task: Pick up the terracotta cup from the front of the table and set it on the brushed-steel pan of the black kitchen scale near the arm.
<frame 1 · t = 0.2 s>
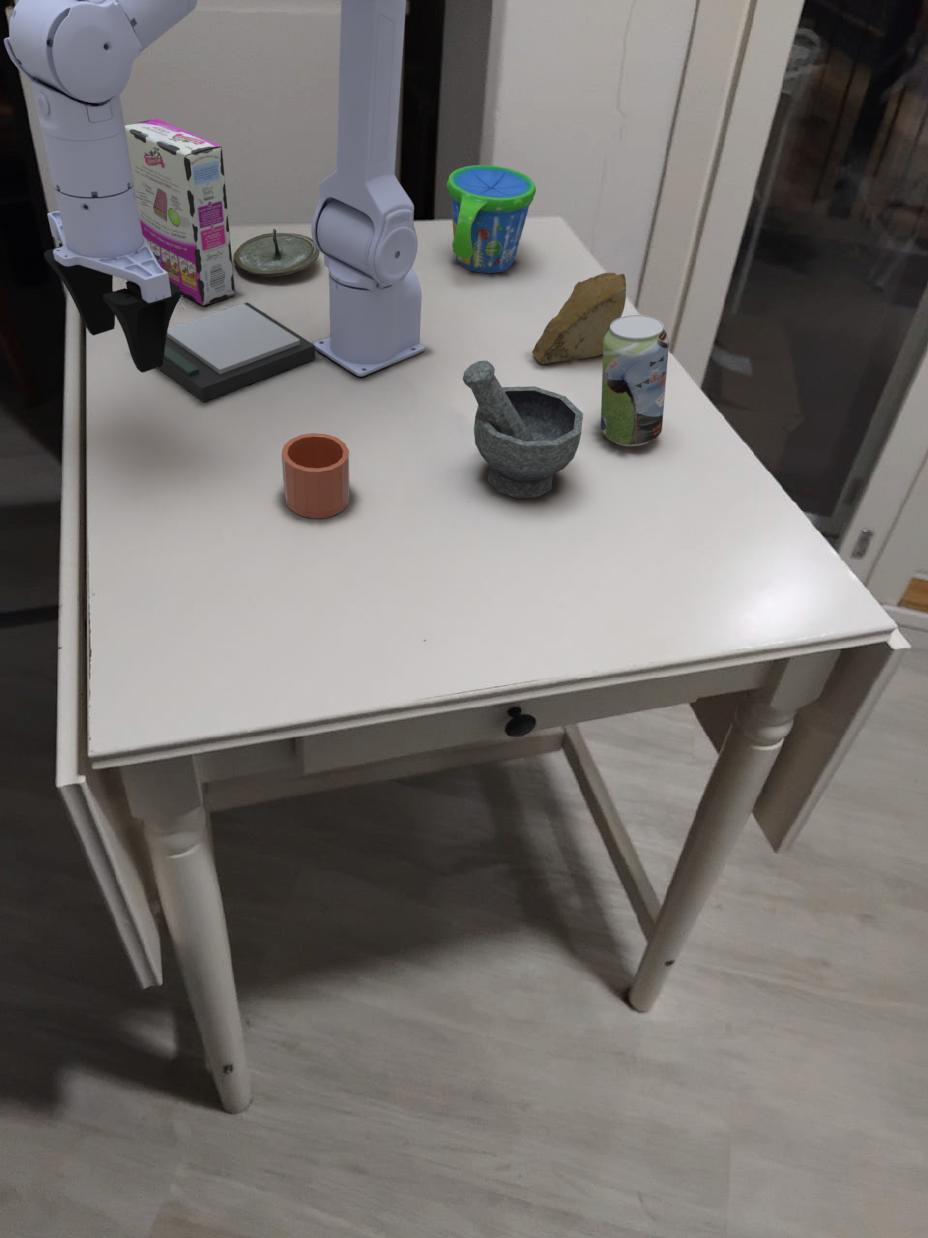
hand: (125, 348, 80), 10 cm above the table, tool pointing down, fingers open, 7 cm apart
scale: (227, 355, 100), on the table
terracotta cup: (317, 498, 84), on the table
rock: (573, 353, 106), on the table
candy bar box: (190, 285, 111), on the table
snack cup: (483, 264, 121), on the table
lid: (277, 268, 116), on the table
mortar and pestle: (513, 480, 88), on the table
beverage can: (621, 436, 95), on the table
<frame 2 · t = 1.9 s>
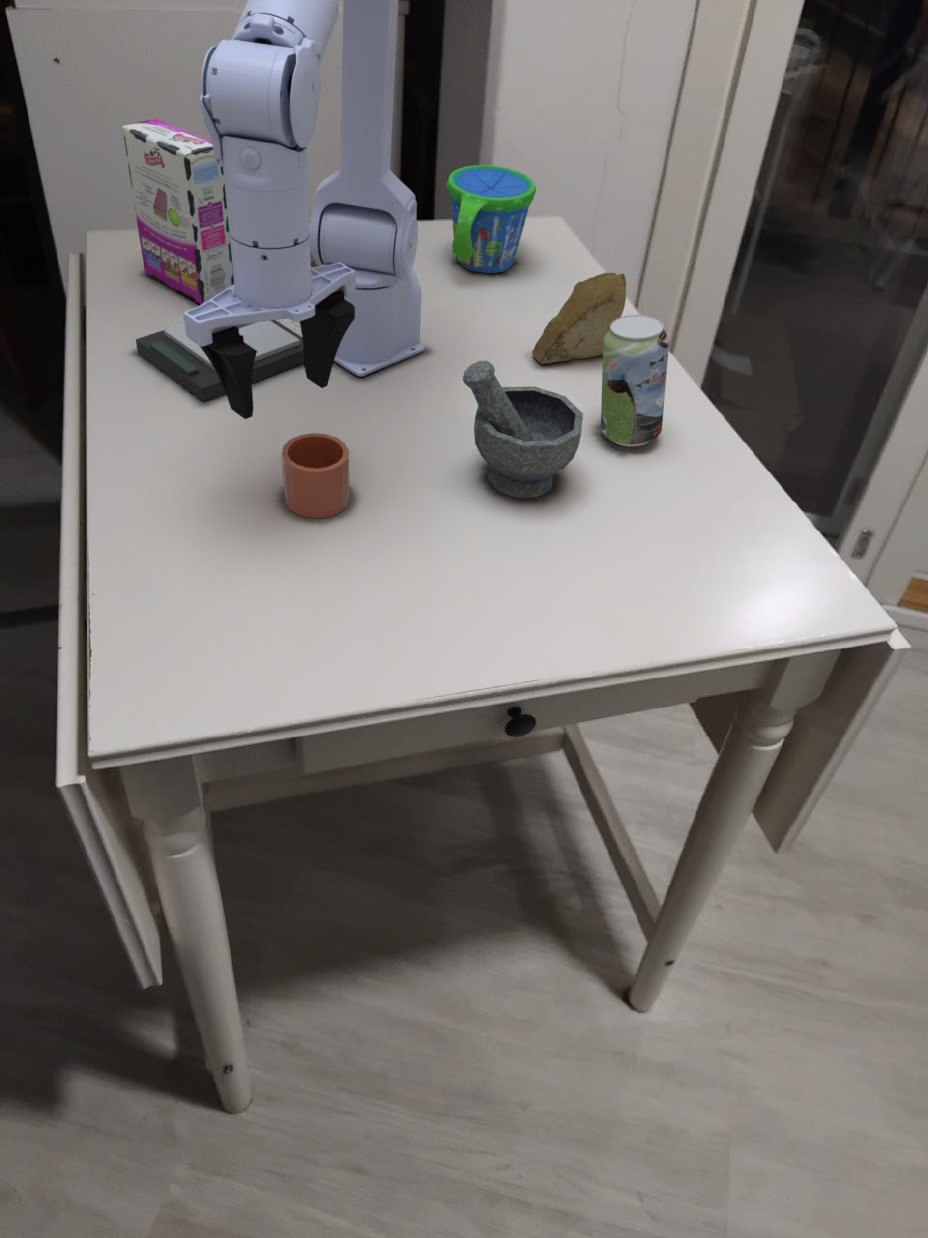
hand: (280, 396, 78), 9 cm above the table, tool pointing down, fingers open, 7 cm apart
nothing on the table moved.
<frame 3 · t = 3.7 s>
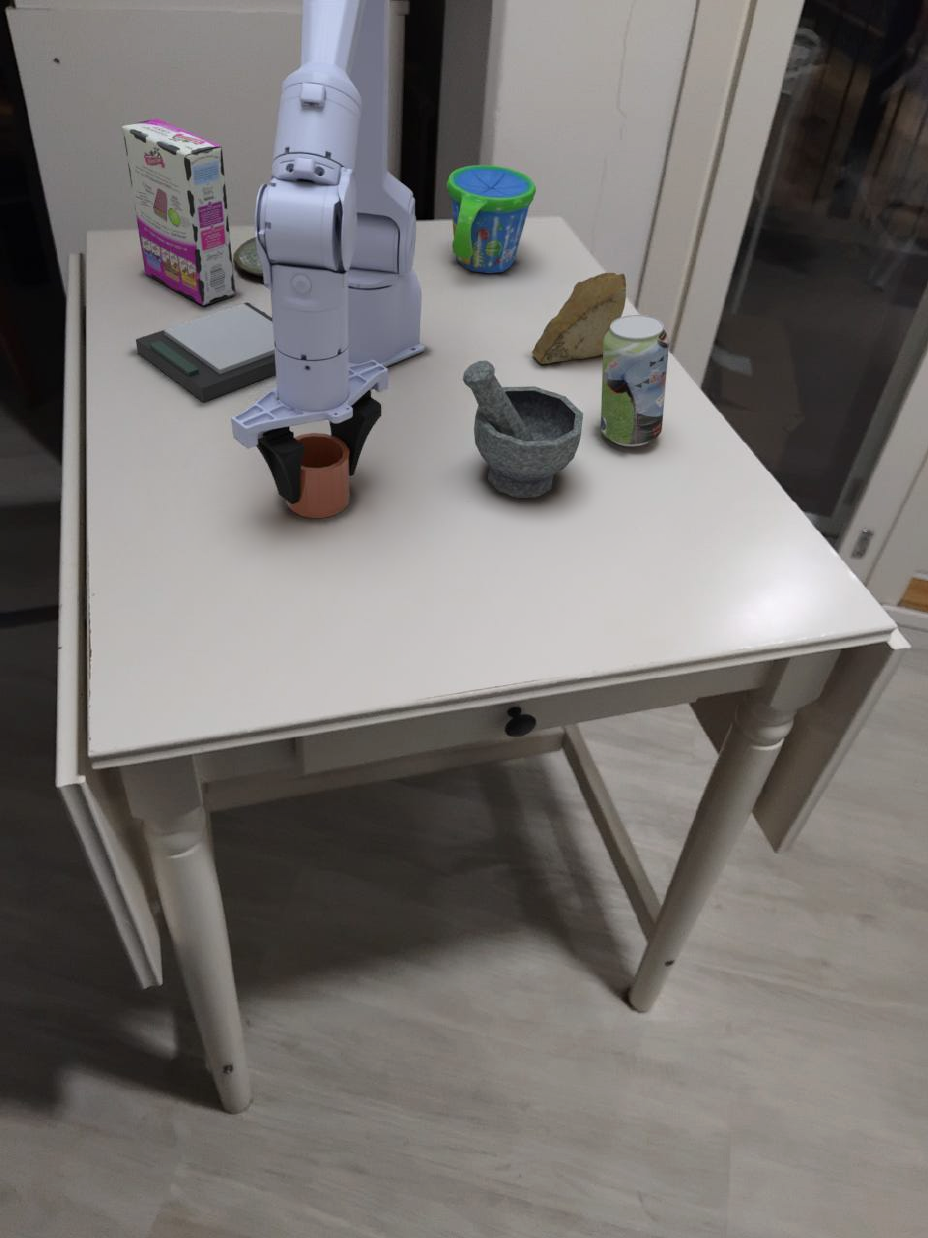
hand: (316, 484, 83), 2 cm above the table, tool pointing down, fingers closed on terracotta cup, 5 cm apart
terracotta cup: (317, 498, 84), on the table, touching gripper
everything else where it was.
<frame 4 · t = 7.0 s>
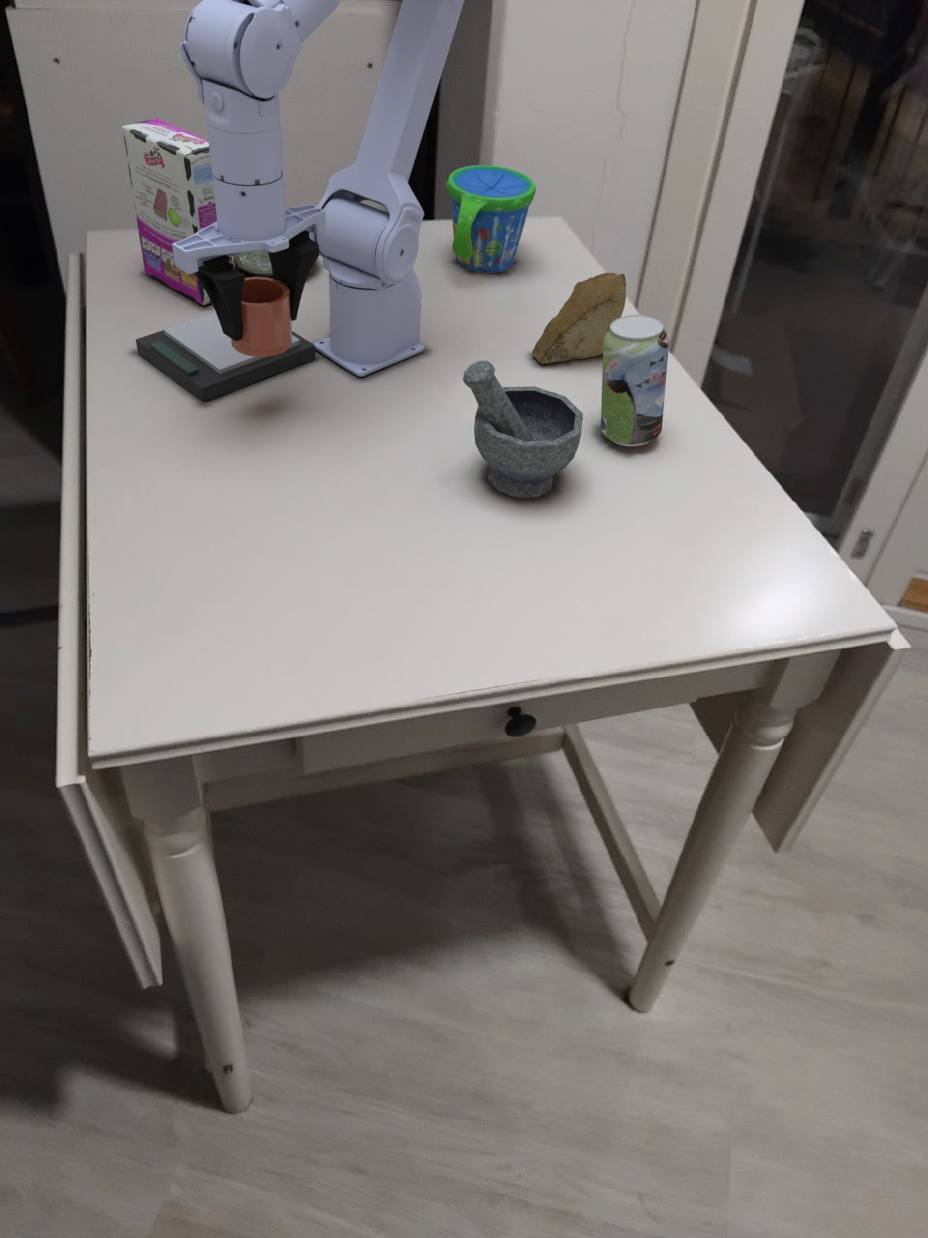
hand: (260, 326, 87), 9 cm above the table, tool pointing down, fingers closed on terracotta cup, 5 cm apart
terracotta cup: (261, 341, 88), point 7 cm above the table, touching gripper
everything else where it was.
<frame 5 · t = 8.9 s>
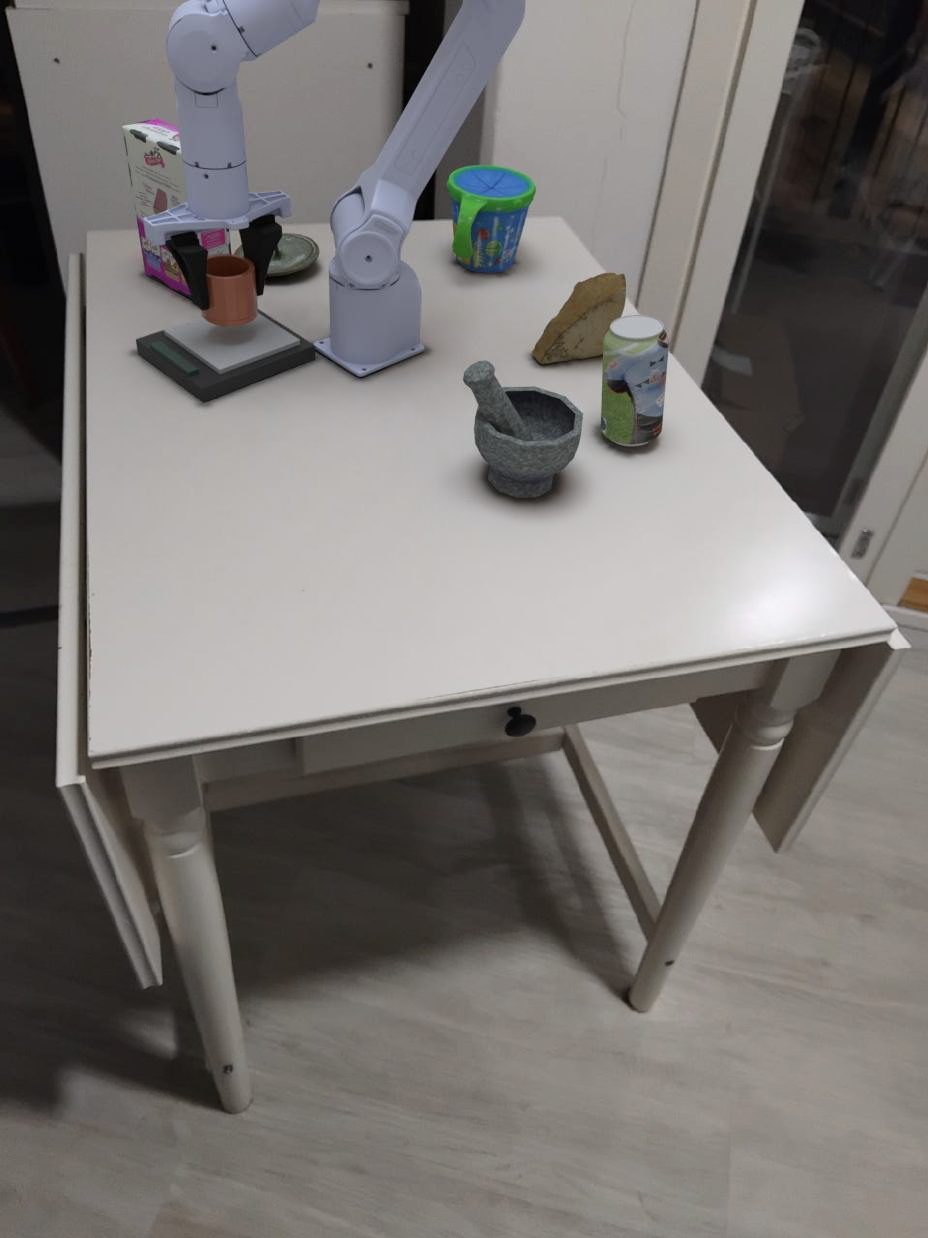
hand: (228, 298, 96), 6 cm above the table, tool pointing down, fingers closed on terracotta cup, 5 cm apart
terracotta cup: (230, 313, 97), point 5 cm above the table, touching gripper
everything else where it was.
when the fingers open (4 cm above the table, at t = 10.2 s): terracotta cup stays where it is, resting on scale.
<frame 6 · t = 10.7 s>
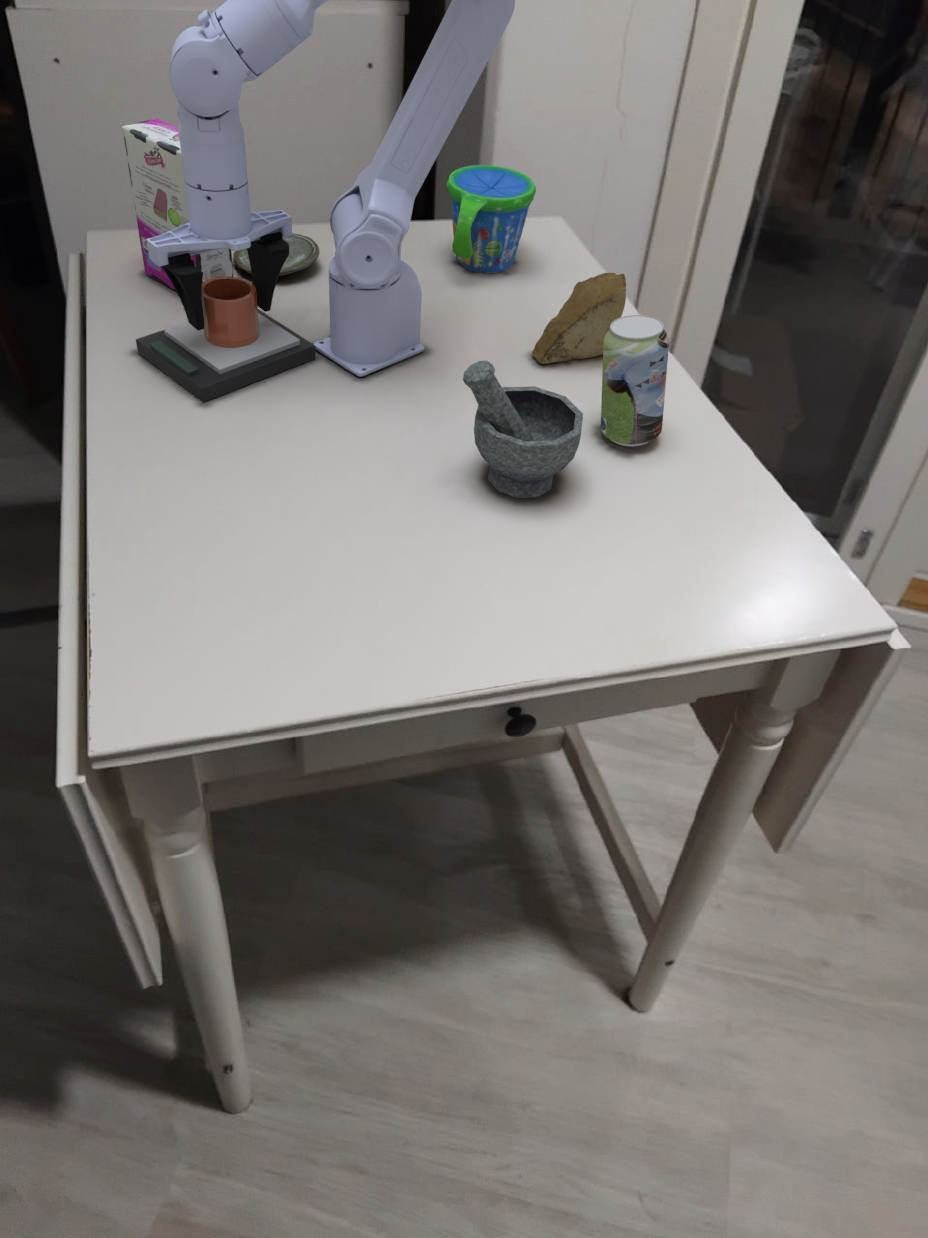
hand: (230, 316, 97), 4 cm above the table, tool pointing down, fingers open, 7 cm apart
terracotta cup: (232, 334, 99), point 2 cm above the table, touching scale
everything else where it was.
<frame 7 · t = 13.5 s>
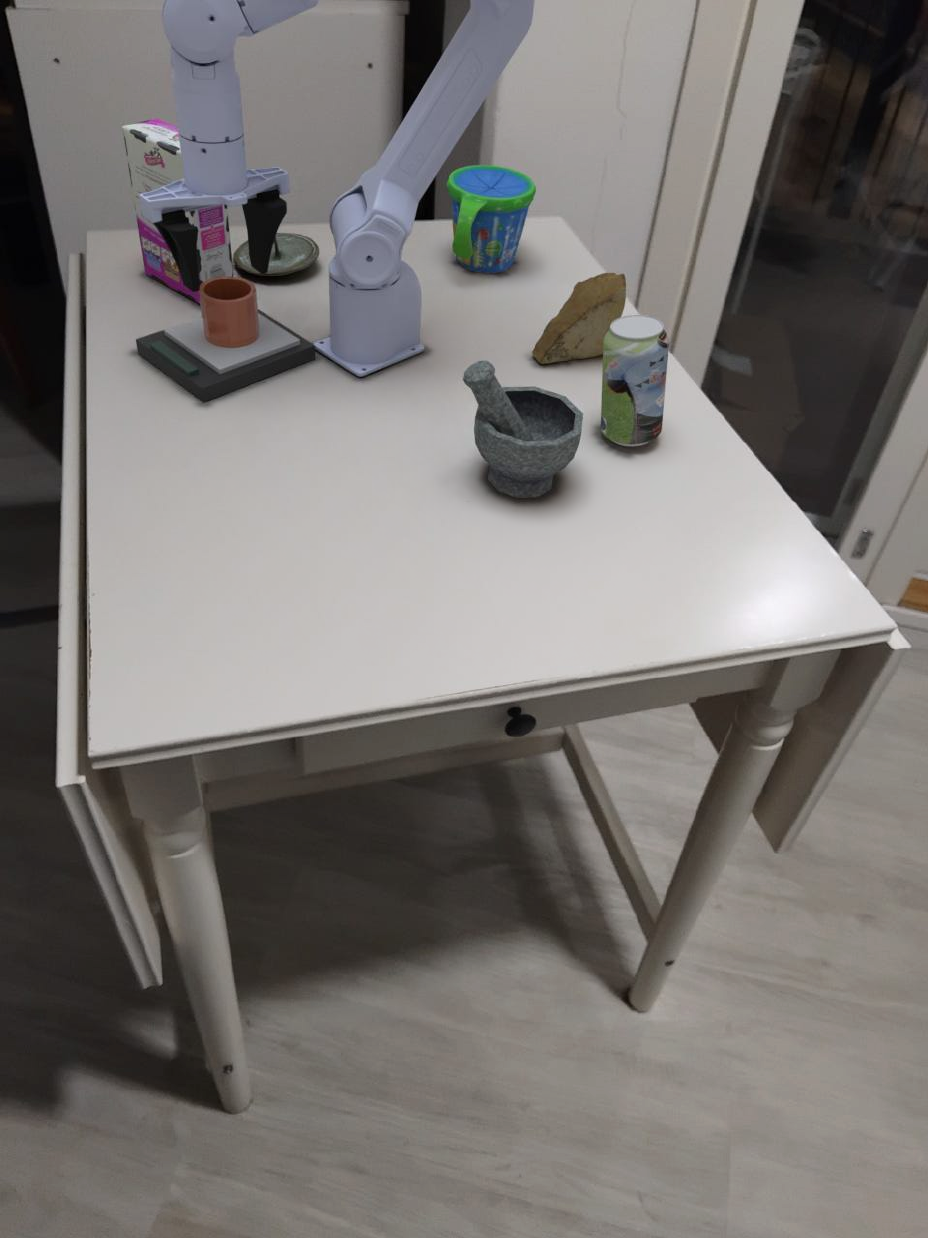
hand: (226, 278, 94), 8 cm above the table, tool pointing down, fingers open, 7 cm apart
nothing on the table moved.
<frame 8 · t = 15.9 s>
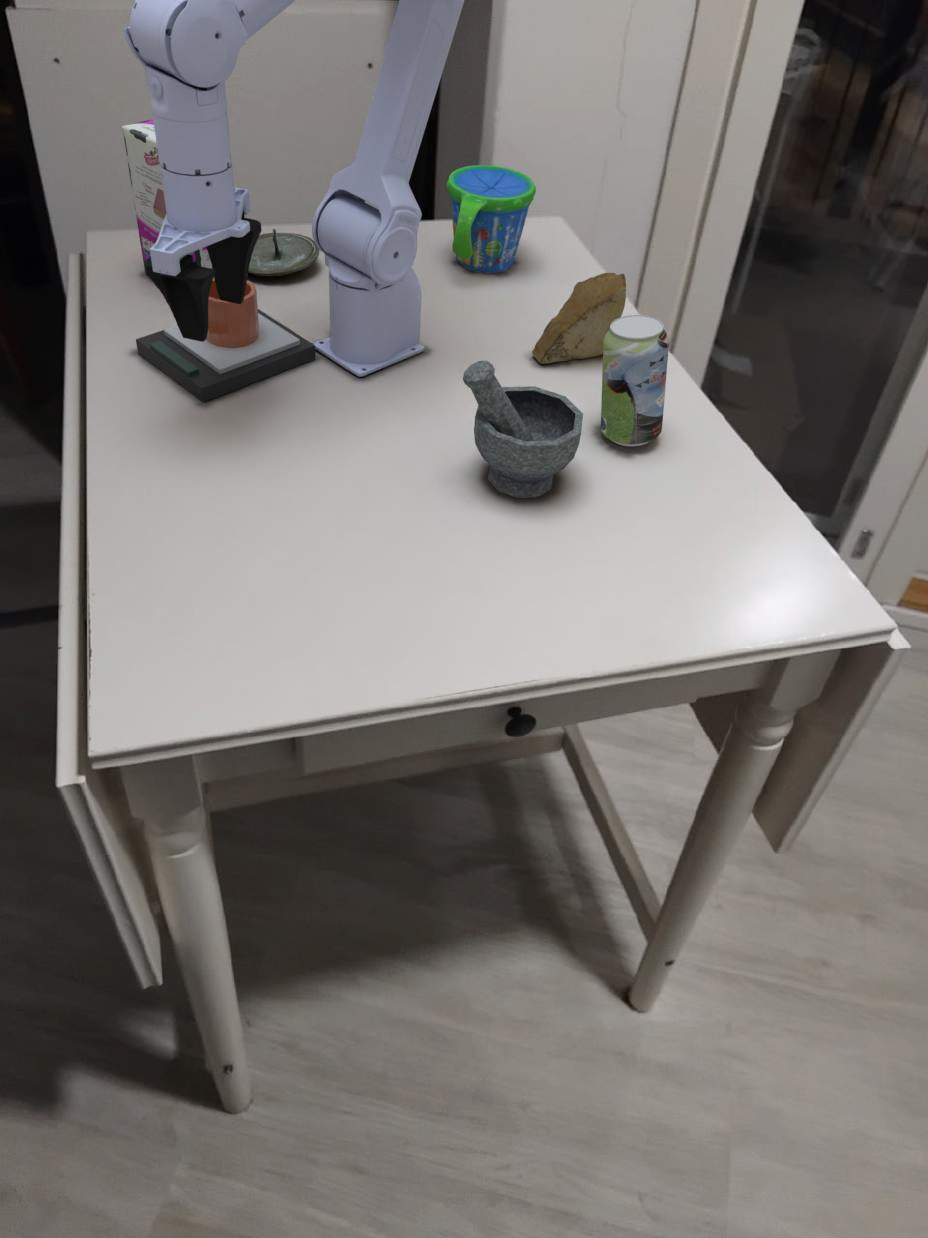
hand: (213, 318, 86), 9 cm above the table, tool pointing down, fingers open, 7 cm apart
nothing on the table moved.
at the end: terracotta cup inside the target area on the scale (0.1 cm from its centre), point 2.2 cm above the scale's base; terracotta cup tilted 0°; the gripper is holding nothing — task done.
